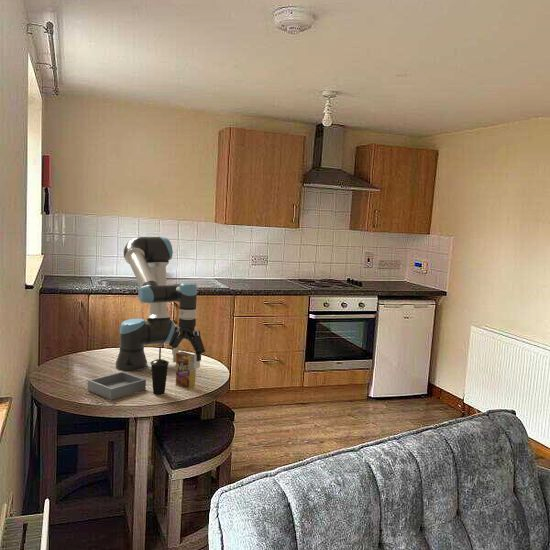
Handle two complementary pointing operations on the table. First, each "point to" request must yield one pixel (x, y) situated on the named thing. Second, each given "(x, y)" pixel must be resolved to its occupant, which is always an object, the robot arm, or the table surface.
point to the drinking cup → (159, 374)
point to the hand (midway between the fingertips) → (186, 364)
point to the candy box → (185, 370)
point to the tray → (116, 385)
